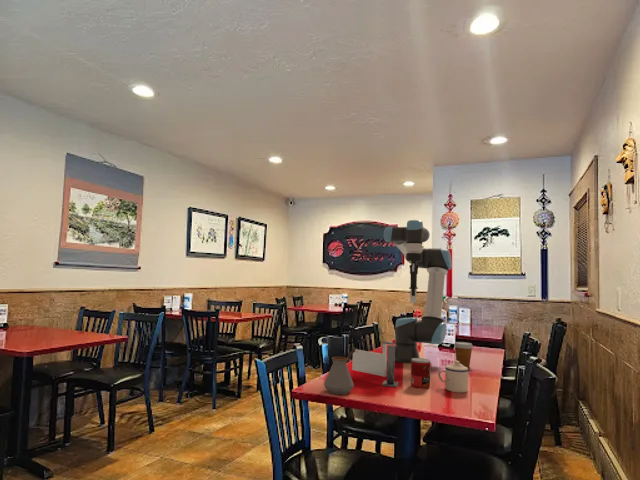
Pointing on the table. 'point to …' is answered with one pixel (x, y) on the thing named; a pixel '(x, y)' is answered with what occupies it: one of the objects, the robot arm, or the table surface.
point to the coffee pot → (339, 376)
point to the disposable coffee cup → (463, 353)
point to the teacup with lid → (456, 377)
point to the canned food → (420, 373)
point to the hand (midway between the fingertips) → (413, 302)
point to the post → (390, 368)
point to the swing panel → (371, 361)
